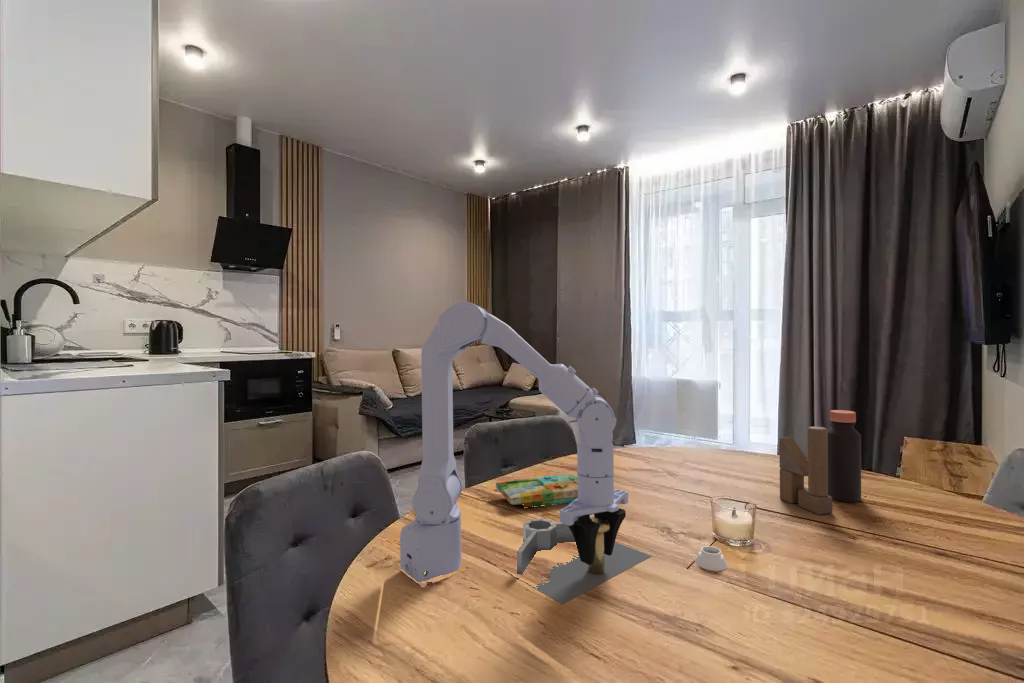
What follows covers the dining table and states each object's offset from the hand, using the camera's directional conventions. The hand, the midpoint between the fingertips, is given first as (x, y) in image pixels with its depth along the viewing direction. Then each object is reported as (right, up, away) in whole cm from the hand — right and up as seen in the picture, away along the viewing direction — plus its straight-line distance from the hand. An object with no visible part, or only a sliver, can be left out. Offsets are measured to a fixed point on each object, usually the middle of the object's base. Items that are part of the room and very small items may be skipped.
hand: (596, 557), depth 77 cm
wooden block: (+51, -2, +29) cm, 59 cm away
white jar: (+19, -3, +2) cm, 20 cm away
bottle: (+63, -2, +34) cm, 72 cm away
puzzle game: (-6, -3, +35) cm, 35 cm away
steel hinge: (-5, -2, +7) cm, 9 cm away
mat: (-5, -3, +5) cm, 8 cm away
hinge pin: (0, -2, 0) cm, 2 cm away
